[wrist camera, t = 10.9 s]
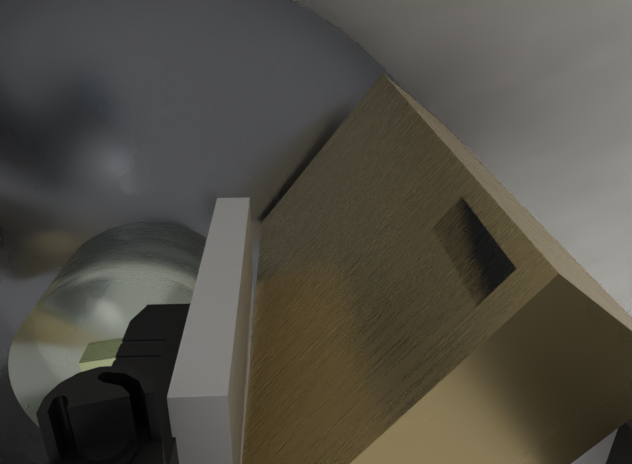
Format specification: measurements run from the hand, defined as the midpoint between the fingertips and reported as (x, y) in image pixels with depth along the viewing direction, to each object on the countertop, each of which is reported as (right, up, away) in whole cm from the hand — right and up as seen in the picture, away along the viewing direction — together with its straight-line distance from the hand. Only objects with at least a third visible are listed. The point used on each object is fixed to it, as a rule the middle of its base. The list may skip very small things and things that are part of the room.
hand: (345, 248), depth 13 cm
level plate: (-6, -2, +6) cm, 8 cm away
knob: (0, +2, +3) cm, 3 cm away
